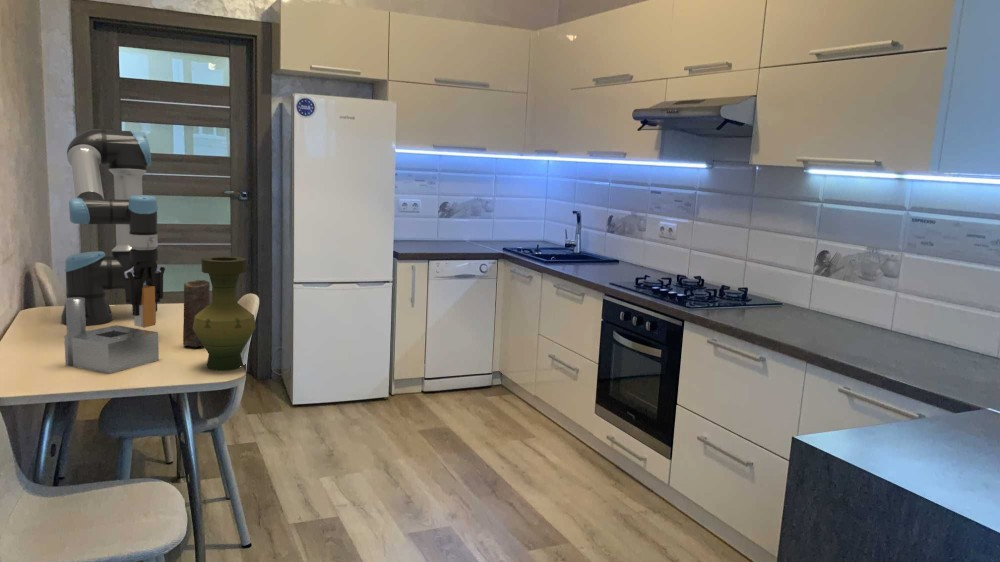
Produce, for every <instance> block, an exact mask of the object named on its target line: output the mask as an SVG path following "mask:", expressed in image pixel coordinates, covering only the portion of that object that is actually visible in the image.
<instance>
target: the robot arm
mask: <svg viewBox="0 0 1000 562" xmlns="http://www.w3.org/2000/svg"><path fill="white" fill-rule="evenodd" d="M66 158H67V161H68V163H69V165H70V166H71V171H72V179H73V180H72V181H73V189H74V198H71V199H69V202H68V210H69V212H68V213H69V221H70V223H72V224H77V225H78V224H79V225H115V239H116V240H115V241H116V244H115V247H113V248H112V249H111V255H106V253H105V251H101V250H99V251H86V252H80V253H79V252H78V253H76V254H71V255H69V256H67V258H66V259H65V262H64V263H65V268H64V272H65V290H66V291H65V292H66V296H65V297H66V299H67V298H73V297H82V298H85V318H86V326H95V325H103V324H107V323H110V322H112V321H113V317H114V316H113V312H112V310H111V307H110V305H109V302H108V299H107V291H108V290H109V291H111V290H113V291H114V290H124V291H125V292H124V294H125V295H124V296H125V303H126V304H129V305H131V306H132V307H131V308H132V311H131V313H132V316H133V318H134V321H133V322H134V325H133V326H135V327H139V326H140V328H143V327H142V326H143V305H140V303H141V296H142V288H143V285H148V286H155V324H157V311H158V303H160V302H161V300H162V299H164V273H165V270H166V267H164V266H159V265H158V263H157V261H158V260H159V250H158V248H157V247H158V246H159V243H158V210H159V209H158V203H157V202H158V201H157V198H156V197H155V196H153V195H152V196H151V195H143V176H144V174H146V173H147V171H148V170H147V168H148V167H151V166H152V154H151V148H150V143H149V140H148V137H147V136H146V134H144V133H143V132H140V131H132V130H117V129H115V130H114V129H100V128H92V129H88V130H85V131H83V132H81V133H79V134H78V135H76V136H75V137H74V138H73V139H72V140H71V141H70V142H69V144H68V146H67V150H66ZM100 165H108V171H109V172H110V173H111V174H112V175H113V187H114V188H113V190H114V199H111V198H110V199H109V198H105V197H104V189H103V185H102V176H101V171H100ZM60 322H61V323H62V324H64V325H67V321H66V302H65V304H64V307H63V310H62V313H61V316H60Z"/></svg>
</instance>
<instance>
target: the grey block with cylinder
mask: <svg viewBox="0 0 1000 562" xmlns="http://www.w3.org/2000/svg"><path fill="white" fill-rule="evenodd" d="M65 303H66V321H67V324H66V335H63V337H64V354H65V357H64V359H65V366H69V367H74V368H78V367H79V368H80V369H83V368H84V370H89V371H93V372H97V373H98V372H100V373H102V374H103V373H104V374H108V375H109V374H113V373H118V372H120V371H124V370H129V369H131V368H136V367H138V366H143V365H146V364H149V363H153V362H157V361H159V360H160V356H159V354H160V353H159V332H158V331H152V330H145V329H140V328H136V327H135V328H133V327H129V326H123V325H119V324H117V325H112V326H107V327H102V328H97V329H92V330H87V325H86V318H85V298H82V297H73V298H67V297H66V298H65Z"/></svg>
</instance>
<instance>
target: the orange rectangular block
mask: <svg viewBox="0 0 1000 562" xmlns="http://www.w3.org/2000/svg"><path fill="white" fill-rule="evenodd" d="M140 305H143V326H142V327H140V326H138V327H140V328H145V329H146V328H149V327H153V326H156V323H155V286H148V285H143V288H142V296H141V303H140Z"/></svg>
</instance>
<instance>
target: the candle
mask: <svg viewBox="0 0 1000 562" xmlns="http://www.w3.org/2000/svg"><path fill="white" fill-rule="evenodd" d="M210 284H211V282H210V281H207V280H204V279H203V280H202V279H194V280H190V281H187V282H184V283H183V325H182V327H183V329H182V331H183V332H182V343H183V346H187V347H190V348H199V347H201V346H203V344H202V343H201V341H200V340H199V338H198V336H197V335H196V333H195V332H194V330H193V322H194V316H195V315H196V314H198V313H199V312H200V311H202V310H203V309H204V308H205V307H207V306H208V305H209V304H210V288H211V287H210V286H211V285H210Z"/></svg>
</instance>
